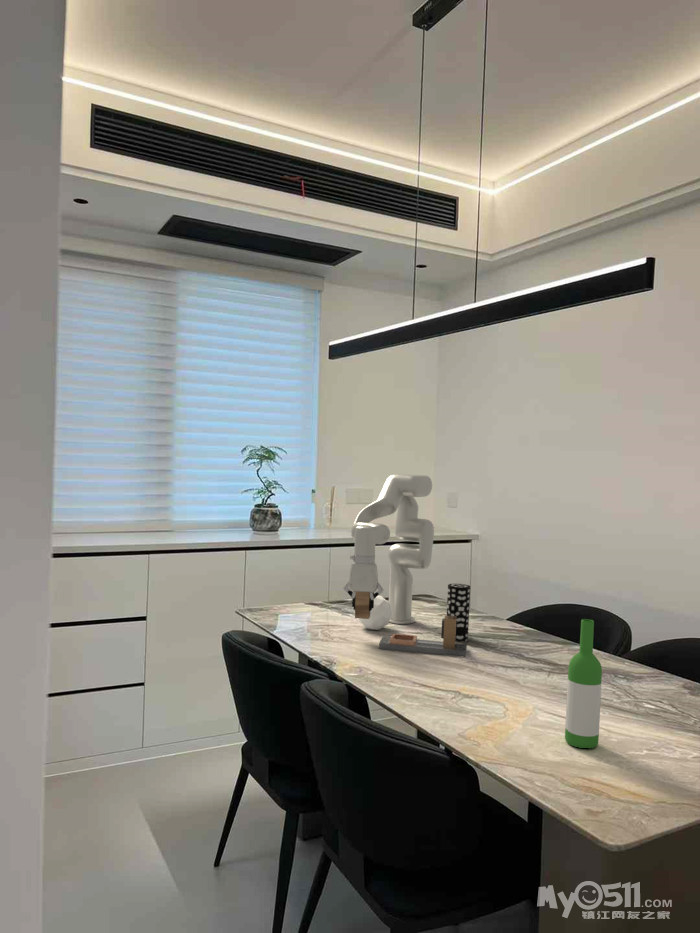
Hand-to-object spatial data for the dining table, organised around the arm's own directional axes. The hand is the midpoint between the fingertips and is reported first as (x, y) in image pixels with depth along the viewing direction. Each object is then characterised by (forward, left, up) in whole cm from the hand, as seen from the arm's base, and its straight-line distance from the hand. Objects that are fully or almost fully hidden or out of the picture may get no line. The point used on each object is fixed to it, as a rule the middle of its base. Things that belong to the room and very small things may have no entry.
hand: (362, 608), depth 260 cm
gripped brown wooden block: (0, 0, -3) cm, 3 cm away
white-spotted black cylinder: (-14, +34, -12) cm, 38 cm away
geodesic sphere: (-18, +2, -12) cm, 22 cm away
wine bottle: (+77, +67, -12) cm, 102 cm away
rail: (+5, +23, -11) cm, 26 cm away
